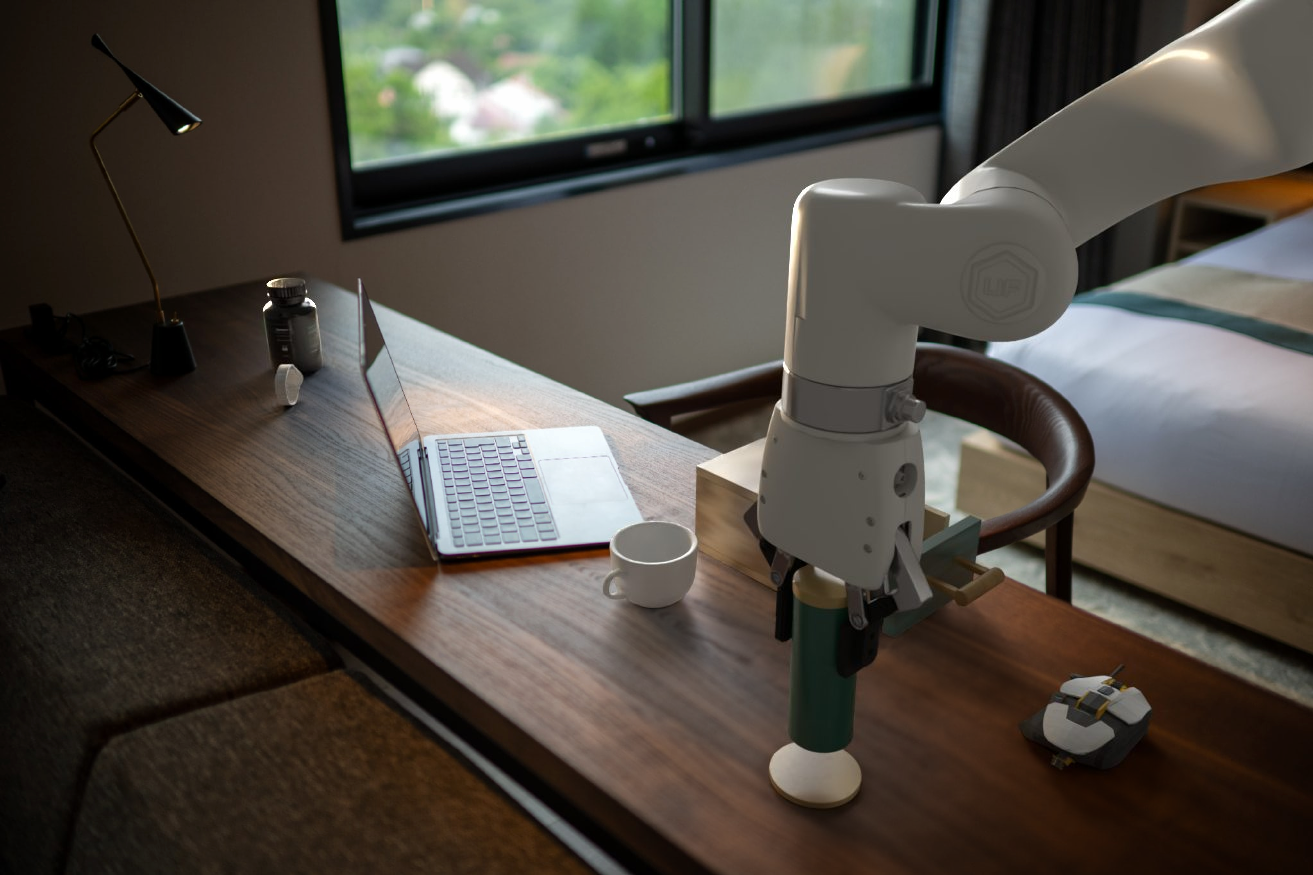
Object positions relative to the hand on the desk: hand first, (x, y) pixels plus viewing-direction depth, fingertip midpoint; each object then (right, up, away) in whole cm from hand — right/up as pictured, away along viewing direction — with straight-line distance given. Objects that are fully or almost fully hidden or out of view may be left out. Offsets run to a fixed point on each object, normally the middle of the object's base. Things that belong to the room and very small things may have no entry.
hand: (823, 647), depth 72 cm
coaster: (0, -10, +4) cm, 11 cm away
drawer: (+10, 0, +24) cm, 26 cm away
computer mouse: (+21, -8, +10) cm, 25 cm away
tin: (0, -6, +3) cm, 7 cm away
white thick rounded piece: (-57, +18, +66) cm, 89 cm away
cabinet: (+2, +3, +33) cm, 33 cm away
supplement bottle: (-60, +23, +78) cm, 101 cm away
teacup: (-12, -1, +25) cm, 28 cm away
